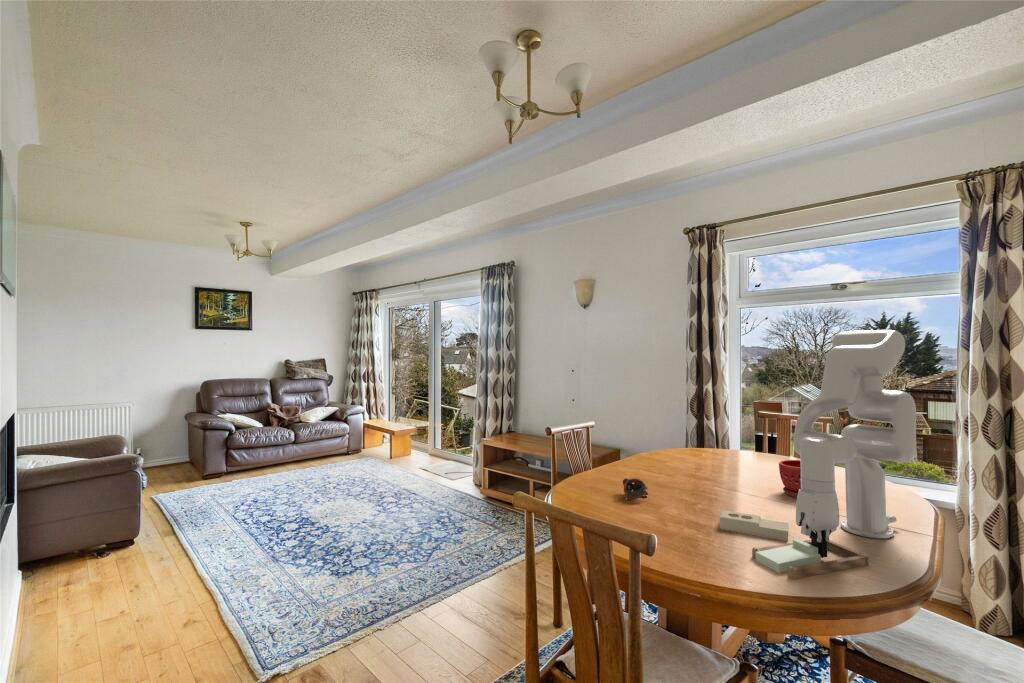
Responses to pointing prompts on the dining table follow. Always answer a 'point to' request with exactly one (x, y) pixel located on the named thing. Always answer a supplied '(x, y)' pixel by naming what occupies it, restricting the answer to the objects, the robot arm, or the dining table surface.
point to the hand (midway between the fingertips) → (819, 555)
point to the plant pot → (790, 476)
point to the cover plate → (789, 556)
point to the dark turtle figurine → (634, 488)
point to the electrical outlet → (753, 525)
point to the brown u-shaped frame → (823, 567)
